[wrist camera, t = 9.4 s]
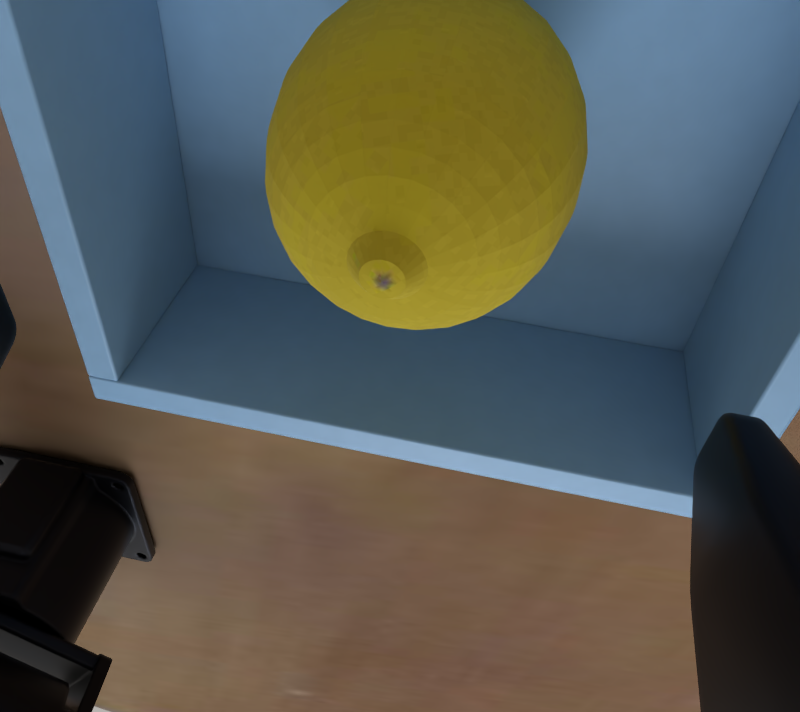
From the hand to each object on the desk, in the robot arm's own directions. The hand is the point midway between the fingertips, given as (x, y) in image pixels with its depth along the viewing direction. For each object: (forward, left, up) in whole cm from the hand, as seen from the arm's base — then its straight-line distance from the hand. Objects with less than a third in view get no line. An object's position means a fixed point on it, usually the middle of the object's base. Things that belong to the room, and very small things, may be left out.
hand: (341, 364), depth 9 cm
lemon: (0, 0, -10) cm, 10 cm away
